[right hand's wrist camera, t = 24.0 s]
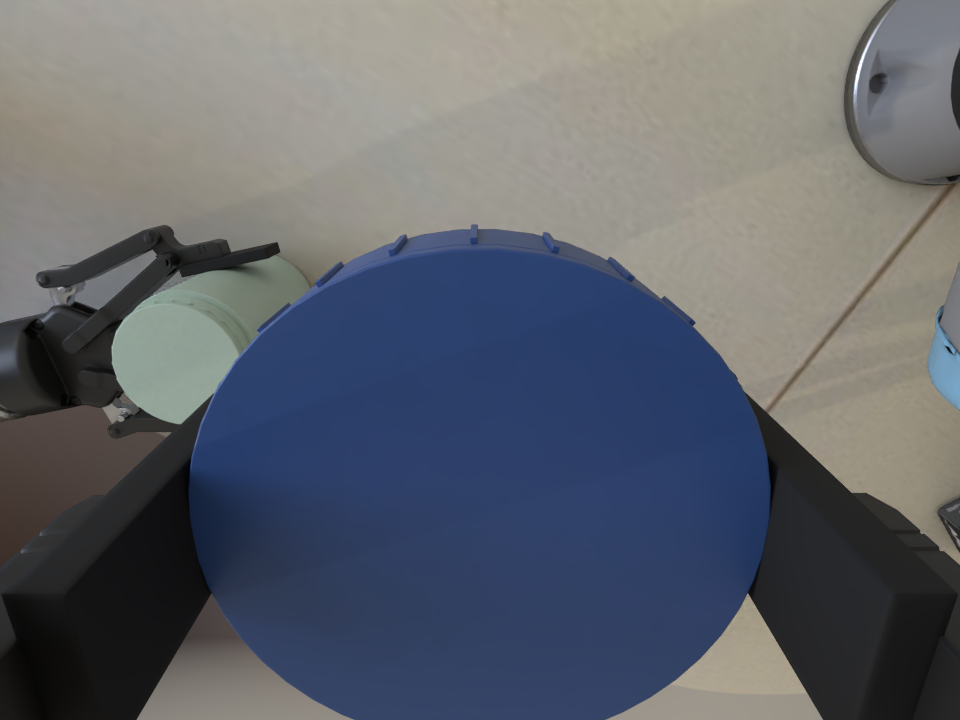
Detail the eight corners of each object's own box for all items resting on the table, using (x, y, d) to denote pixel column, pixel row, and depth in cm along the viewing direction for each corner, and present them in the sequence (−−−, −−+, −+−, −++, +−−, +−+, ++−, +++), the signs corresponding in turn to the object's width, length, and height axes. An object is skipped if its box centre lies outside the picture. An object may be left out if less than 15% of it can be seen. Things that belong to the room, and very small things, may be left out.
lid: (316, 691, 14) (290, 779, 12) (152, 287, 11) (80, 319, 9) (740, 623, 13) (785, 706, 11) (706, 169, 10) (760, 176, 8)
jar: (268, 231, 49) (178, 268, 35) (335, 315, 52) (278, 383, 37) (190, 290, 51) (74, 349, 36) (259, 369, 53) (176, 454, 39)
